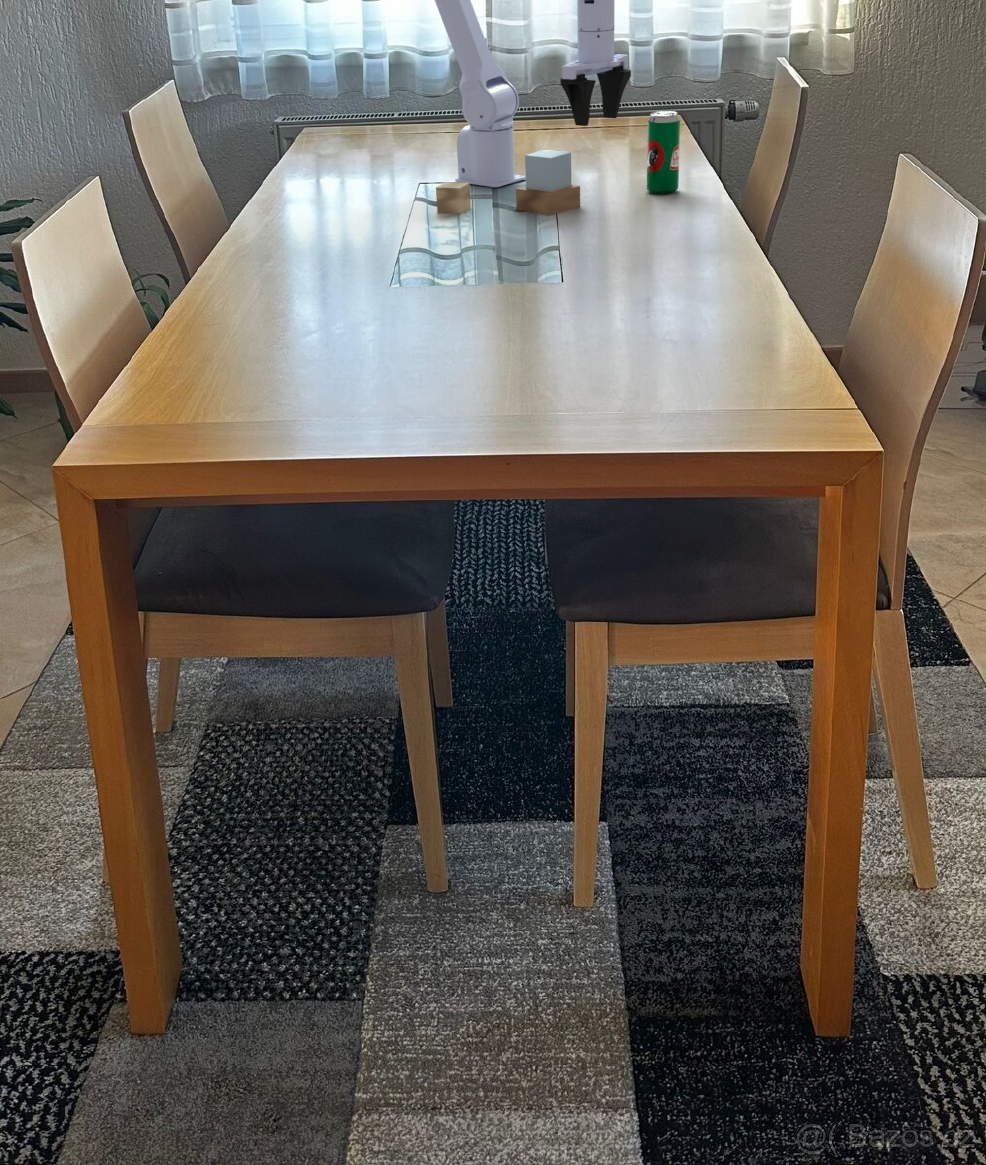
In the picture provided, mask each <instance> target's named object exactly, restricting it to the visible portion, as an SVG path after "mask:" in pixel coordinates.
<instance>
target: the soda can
mask: <svg viewBox="0 0 986 1165" xmlns="http://www.w3.org/2000/svg"><path fill="white" fill-rule="evenodd" d="M678 115H679V113H678V112H676V111H667V110H665V111H663V110H662V111H661V110H660V111H654V112H651V113H650V114H649V116H650V117H649V118H648V119H647V136H646V138H647V141H646V142H647V143H646V144H647V146H646V151H647V152H646V155H647V156H646V158H647V159H646V190H647V191H648V193H650V194H653V195H660V196H661V195H663V196H664V195H671V194H674V193H676V192H677V191H678V190H679V183H680V181H679V179H680V178H679V177H680V145H681V144H680V141H681V140H680V139H681V119H680V118H679V116H678Z"/></svg>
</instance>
